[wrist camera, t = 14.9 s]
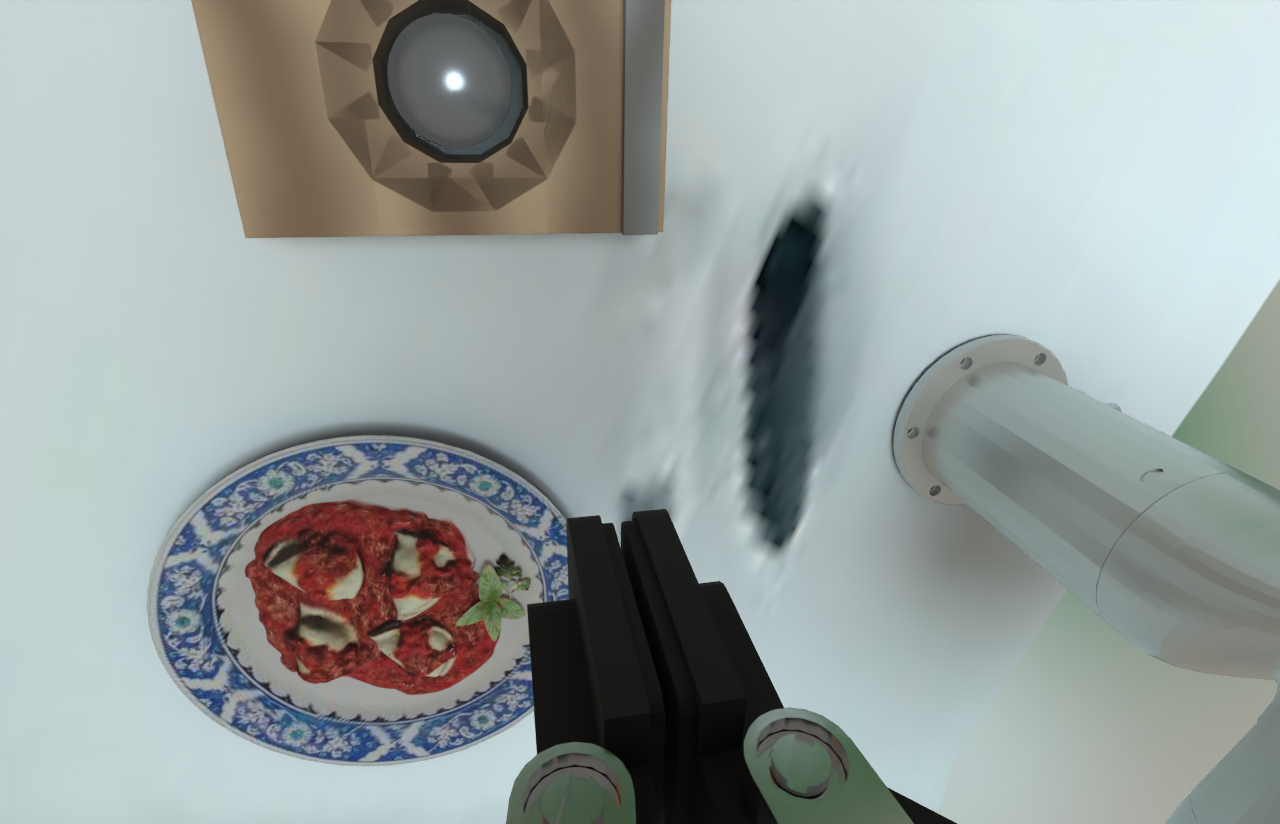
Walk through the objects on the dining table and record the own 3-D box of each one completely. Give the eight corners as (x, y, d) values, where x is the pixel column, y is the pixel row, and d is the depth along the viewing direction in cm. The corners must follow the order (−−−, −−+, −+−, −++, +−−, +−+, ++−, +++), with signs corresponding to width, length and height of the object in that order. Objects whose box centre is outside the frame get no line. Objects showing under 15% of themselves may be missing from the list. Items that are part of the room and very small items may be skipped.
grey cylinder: (504, 35, 31) (508, 16, 24) (510, 137, 33) (515, 147, 26) (406, 31, 30) (378, 10, 23) (418, 136, 32) (396, 147, 25)
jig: (647, -53, 30) (677, -83, 25) (641, 215, 35) (665, 234, 31) (218, -83, 27) (156, -124, 22) (279, 219, 32) (240, 240, 27)
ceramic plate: (165, 737, 44) (144, 778, 41) (160, 385, 34) (133, 409, 32) (547, 741, 51) (550, 776, 49) (629, 452, 42) (638, 475, 39)
